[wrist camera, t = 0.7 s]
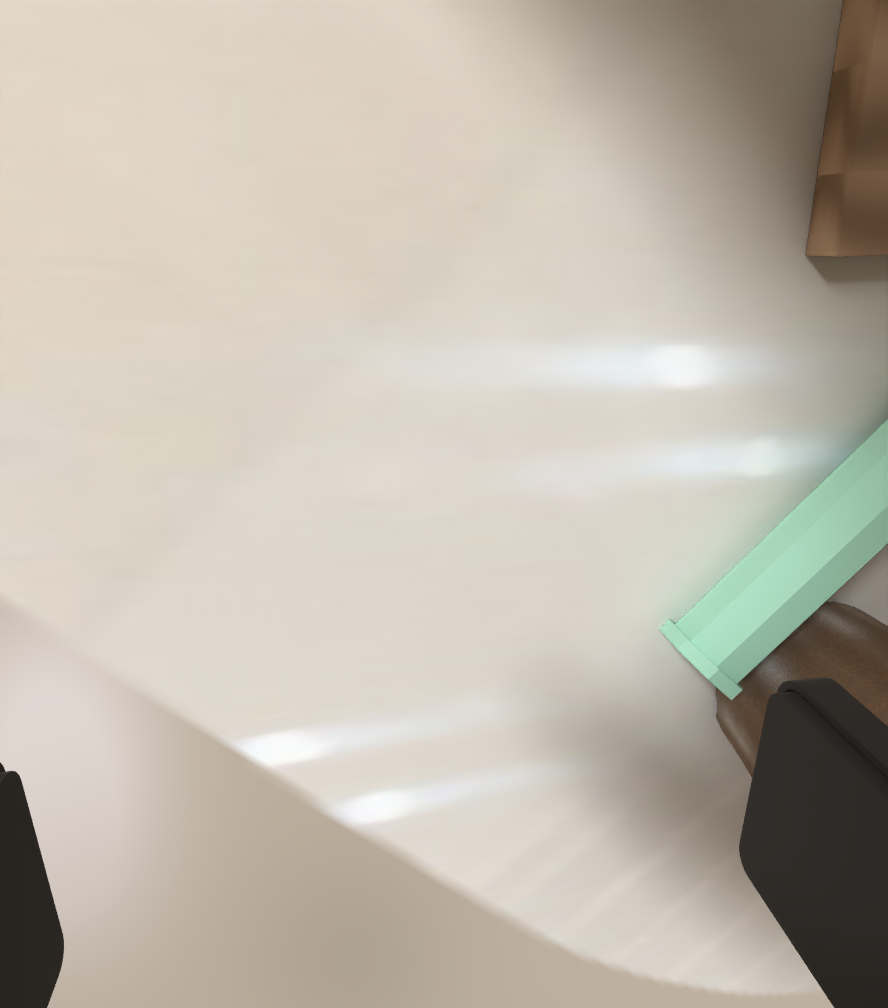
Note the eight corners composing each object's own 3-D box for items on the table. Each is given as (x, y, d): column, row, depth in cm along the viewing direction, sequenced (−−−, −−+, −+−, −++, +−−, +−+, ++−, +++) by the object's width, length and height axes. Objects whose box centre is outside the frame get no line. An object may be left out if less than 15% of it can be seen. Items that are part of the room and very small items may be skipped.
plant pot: (818, 801, 51) (1019, 1032, 36) (637, 746, 47) (783, 985, 32) (953, 617, 47) (1244, 793, 32) (769, 537, 42) (1008, 700, 28)
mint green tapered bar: (1089, 334, 34) (713, 687, 38) (1087, 399, 38) (747, 712, 42) (971, 295, 38) (644, 614, 42) (980, 356, 42) (680, 643, 46)
